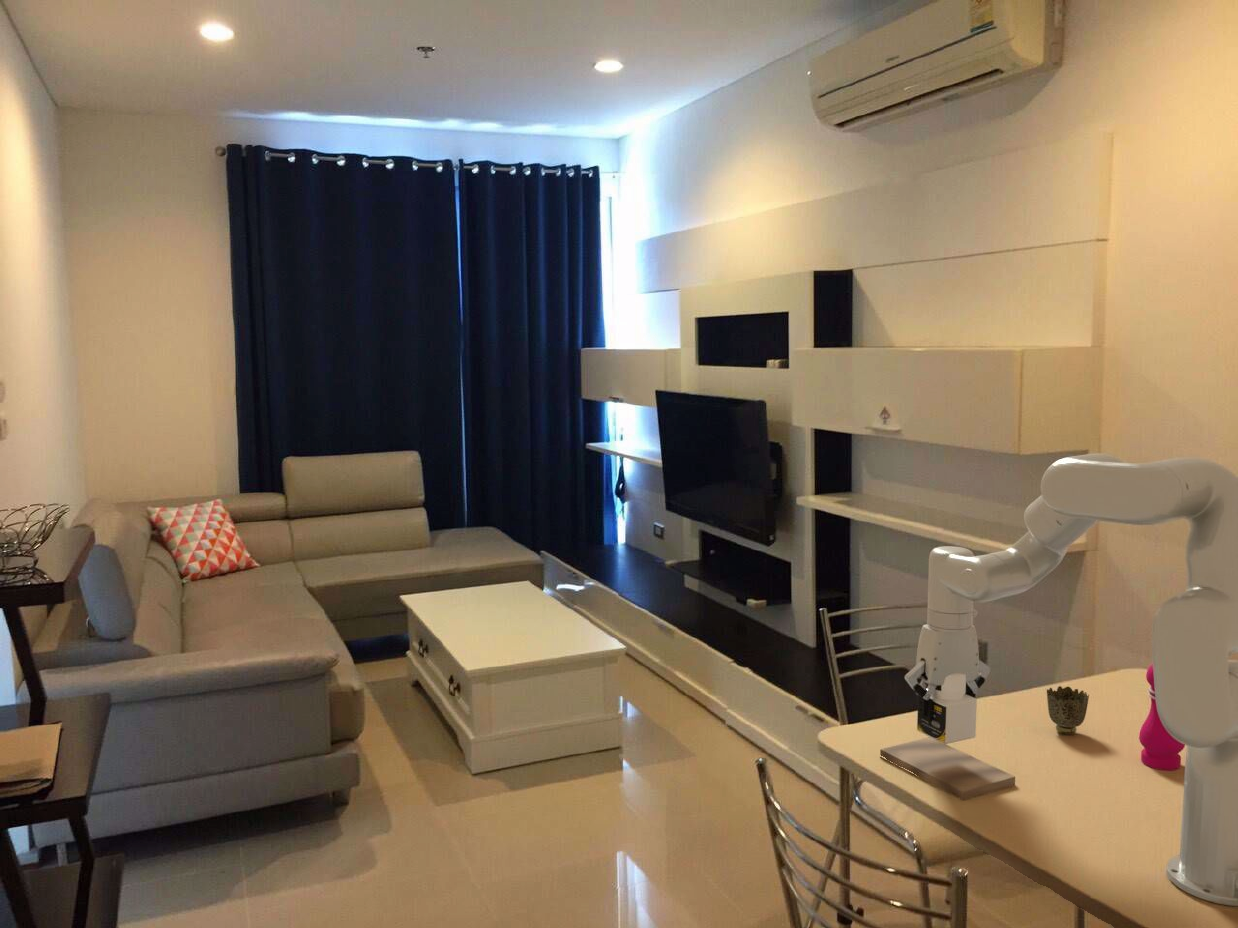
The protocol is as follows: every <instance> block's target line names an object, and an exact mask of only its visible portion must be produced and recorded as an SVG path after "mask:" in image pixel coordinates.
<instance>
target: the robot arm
mask: <svg viewBox="0 0 1238 928" xmlns="http://www.w3.org/2000/svg"><path fill="white" fill-rule="evenodd" d="M1040 493H1041V494H1040V495H1039V496H1038V497H1037V498H1036V499H1035V500H1033V501H1032V502H1031V503H1030V504H1029V505H1028V506H1027V507H1026V509H1025V510H1024V513H1023V520H1024V524H1025V527H1026V528H1027V530H1028V531H1026V533H1025V534H1023V535H1022V537H1020V538H1019V539H1018V540H1016V542H1014V543H1013V544H1012V545H1011V546H1009V547H1008V548H1007V549H1005V550H1002V551H996V552H991V553H985V554H982V555H974V553H973V551H971V550H970V549H969V548H966V547H962V546H952V545H951V546H950V545H947V546H945V545H944V546H938V547H934V548H933V549H931V551H930V552H929V555H928V556H929V557H928V579H927V580H928V583H927V586H928V587H927V610H926V611H927V613H926V615H927V616H926V617H927V618H926V624H923V625H922V627H921V630H920V634H919V638H918V643H917V651H916V652H917V653H916V659H915V666H914V667H913V668H911V669H910V670H909V671H908V672H907V673H906V674H905V675H904V680H905V681H906V682H907V684H908V685H909V687H910V688H911V689H912V691H914V693H915V694H916V695H917V696H918V695H919V716H920V717H921V718H923V719H924V720H926V721H928V722H932V721H933V700H932V699H930V698H931V696H932V694H933V692H934V690H935V688H936V687H937V686H940V685H943V684H944V681H945V678H946V677H947V676H949V675H952V674H958V673H960V674H965V675H966V693H965V694H967V695H969V696H971V697H974V698H976V696H977V695H978V693H980V688H981V687H982V686H983V685H984V683H985V682H986V679H987V677H988V676H989V674H990V672H991V671H992V669H991V667H990V666H989V665H987V664H986V663H984V662H983V661H982V660H980V657H979V656H980V655H979V654H980V652H979V641H978V633H977V629H976V626H975V625H973V624H974V618H977V617H978V616H979V612H978V610H977V609H974V603H986V602H987V603H988V602H991V601H995V600H999V599H1002V598H1005V597H1006V598H1007V597H1011V596H1015V595H1018V594H1022V593H1024V592H1026V591H1028V590H1030V589H1031V588H1033V587H1034V586H1035V585H1037V584H1038V583H1039V582H1040V581H1041V580H1043V579H1044V578H1045V577H1047V576H1048V575H1049V574H1050V573H1052V572H1053V571H1054V570H1055V569H1056V568H1057V567H1058V566H1059V565H1060V563H1061V562H1062V560H1063V559H1064V557H1065V555H1066V554H1067V552H1068V548H1069V547H1070V546H1071V545H1072V544H1074V543H1075V542H1077V540H1079V539H1080V538H1081V537H1082V536H1083V535H1085V534H1086V533H1087V532H1088V531H1089V530H1091V528H1093V527H1094V526H1095V525H1096V524H1099V522H1107V523H1108V522H1109V523H1116V524H1124V525H1132V526H1155V525H1161V524H1165V523H1170V522H1176V521H1179V520H1187V521H1188V523H1189V531H1188V535H1187V538H1186V544H1185V550H1184V560H1185V568H1186V569H1185V570H1186V580H1185V581H1186V582H1185V583H1186V584H1185V585H1186V586H1185V591H1181V592H1179V593H1176V594H1174V595H1171V596H1170V597H1169V598H1167V599H1166V600H1165V601H1164V602H1163V603H1161V604H1160V606H1159V607H1158V609H1157V611H1156V612H1155V614H1154V617H1153V621H1152V623H1151V624H1152V625H1151V635H1150V637H1151V653H1152V664H1153V671H1154V687H1155V699H1156V706H1157V711H1158V715H1159V717H1160V720H1161V722H1162V724H1163V726H1164V727H1165V729H1166V730H1167V731H1168V733H1169V734H1170V735H1171V736H1172V737H1173V738H1175V739H1176V740H1177V741H1179V742H1180V743H1182V744H1184V745H1185V746H1186V753H1185V754H1186V755H1185V762H1184V763H1185V765H1184V766H1185V767H1184V778H1183V780H1184V781H1183V793H1182V794H1183V795H1182V796H1183V797H1182V810H1181V811H1182V812H1181V830H1180V846H1179V849H1180V850H1179V854H1177V855H1175V856H1172V857H1171V858H1170V859H1168V861H1167V862H1166V875H1167V877H1168V879H1169V880H1170V881H1171V882H1172V883H1173V884H1174V885H1175V886H1177V887H1178V888H1179V889H1181V890H1182V891H1184V892H1185V893H1187V894H1189V895H1192V896H1194V897H1196V898H1199V899H1202V900H1204V901H1206V902H1207V901H1208V902H1211V903H1215V904H1219V905H1226V906H1233V907H1238V660H1237V659H1235V660H1233V659H1229V657H1230V656H1232V655H1235V654H1238V476H1237V475H1236V474H1235V473H1234V472H1233V471H1232V470H1230V469H1228V468H1226V467H1225V466H1223V465H1221V464H1220V463H1217V462H1215V461H1211V460H1208V459H1205V458H1201V457H1175V458H1168V459H1164V460H1163V459H1162V460H1156V461H1150V462H1142V463H1137V462H1136V463H1133V462H1130V463H1129V462H1124V461H1123V460H1122V459H1120V458H1119V457H1117V456H1115V455H1112V454H1108V453H1102V452H1097V453H1096V452H1094V453H1087V454H1079V455H1073V456H1067V457H1063V458H1061V459H1057V460H1056V461H1054V462H1053V463H1052V464H1050V465H1049V467H1048V468H1047V469H1046V470H1045V472H1043V476H1042V478H1041V481H1040ZM918 679H921V680H920V682H918Z"/></svg>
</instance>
